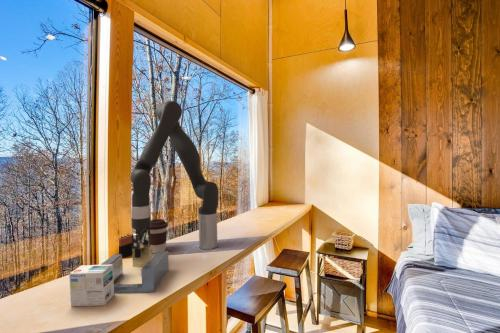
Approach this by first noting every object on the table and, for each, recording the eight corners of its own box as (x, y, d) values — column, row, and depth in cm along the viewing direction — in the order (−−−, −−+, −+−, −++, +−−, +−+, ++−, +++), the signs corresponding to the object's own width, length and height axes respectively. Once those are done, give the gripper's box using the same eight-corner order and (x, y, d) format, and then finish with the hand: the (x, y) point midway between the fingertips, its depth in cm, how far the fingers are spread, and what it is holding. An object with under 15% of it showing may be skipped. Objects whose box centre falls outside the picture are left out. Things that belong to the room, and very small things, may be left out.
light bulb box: (115, 294, 89) (113, 263, 89) (104, 306, 83) (103, 272, 82) (82, 295, 89) (81, 264, 89) (69, 307, 82) (68, 273, 82)
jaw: (107, 273, 105) (106, 254, 104) (124, 273, 105) (123, 254, 105) (89, 289, 93) (88, 267, 92) (108, 288, 93) (107, 267, 93)
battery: (115, 257, 123) (114, 235, 122) (127, 252, 129) (127, 232, 128) (121, 258, 121) (120, 237, 120) (133, 253, 127) (133, 233, 126)
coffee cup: (161, 255, 124) (160, 223, 123) (142, 254, 126) (141, 222, 125) (172, 247, 134) (171, 218, 133) (154, 246, 136) (153, 217, 135)
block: (136, 262, 116) (136, 244, 116) (152, 262, 116) (152, 244, 116) (132, 266, 112) (132, 248, 112) (149, 266, 112) (148, 247, 112)
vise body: (104, 271, 107) (103, 252, 107) (168, 270, 107) (168, 251, 107) (77, 293, 90) (76, 270, 90) (153, 292, 91) (153, 269, 90)
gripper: (143, 220, 106) (144, 260, 106) (155, 212, 120) (156, 248, 120) (124, 220, 106) (125, 260, 106) (139, 212, 120) (139, 248, 120)
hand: (141, 253), depth 113 cm, fingers open, 8 cm apart
